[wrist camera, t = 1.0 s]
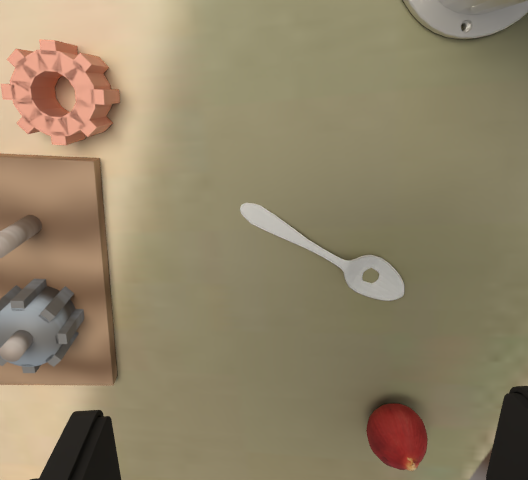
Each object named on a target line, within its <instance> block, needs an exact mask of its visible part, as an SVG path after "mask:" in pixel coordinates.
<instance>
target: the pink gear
mask: <svg viewBox="0 0 528 480" xmlns="http://www.w3.org/2000/svg"><path fill="white" fill-rule="evenodd" d="M39 41H40V50H36V51H34V52H32V51H27V50H21V49H15V51H14V52H13V53H12V54H11V55H10V56H9V58H8V59H7V60H8V61H9V62H10V63H11V64H12V65H13V66H14V67H15V70H14V72H13V74H12V77H11V79H10V84H1V90H2V96H3V99H8V100H13V104H14V105H15V107H16V108H17V110H18V111H19V112H20V114H21V115H22V118H21V119H20V120H19V121H18V122H17V124H18V125H19V126H20V127H21V128H22V129H23V130H24V131H25V132H26V133H27V134H30V133H35V132H40V131H41V132H43V133H45V134H46V135H51V141H52V144H54V145H68V144H71V143H74V142H77V141H80V140H83V139H85V135H86V136H87V137H89V136H92V135H95V134H98V133H102V132H105V131H106V130H107V129H108V128H109V127H110V126H111V124H112V122H111V121H110V120H109V119H108V118H107V117H106V116H107V114H108V112H109V110H110V108H111V106H112V104H115V103H120V96H119V90H117V89H111V86H110V84H109V83H108V81H107V79H106V78H105V76H104V74H103V73H104V72H105V71H106V70H107V69H108V68H109V67H108V66H107V65H106V64H105V63H104V62H103V61H102V59H101V58H100V57H97V56H93V55H88V54H84V53H79V54H78V52H77V46H74V45H71V44H67V43H63V42H59V41H55V40H40V39H39ZM62 76H64V77H66V78H68V80H69V81H70V83H71V84H72V86H73V88H74V89H75V97H76V103H75V105H74V107H73V109H72V111H71V112H69V111H67V110H65V109H64V108H62V107H61V105H60V104H59V102H58V101H57V99H56V95H55V85H56V83H57V81H58V79H59V78H60V77H62Z"/></svg>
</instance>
